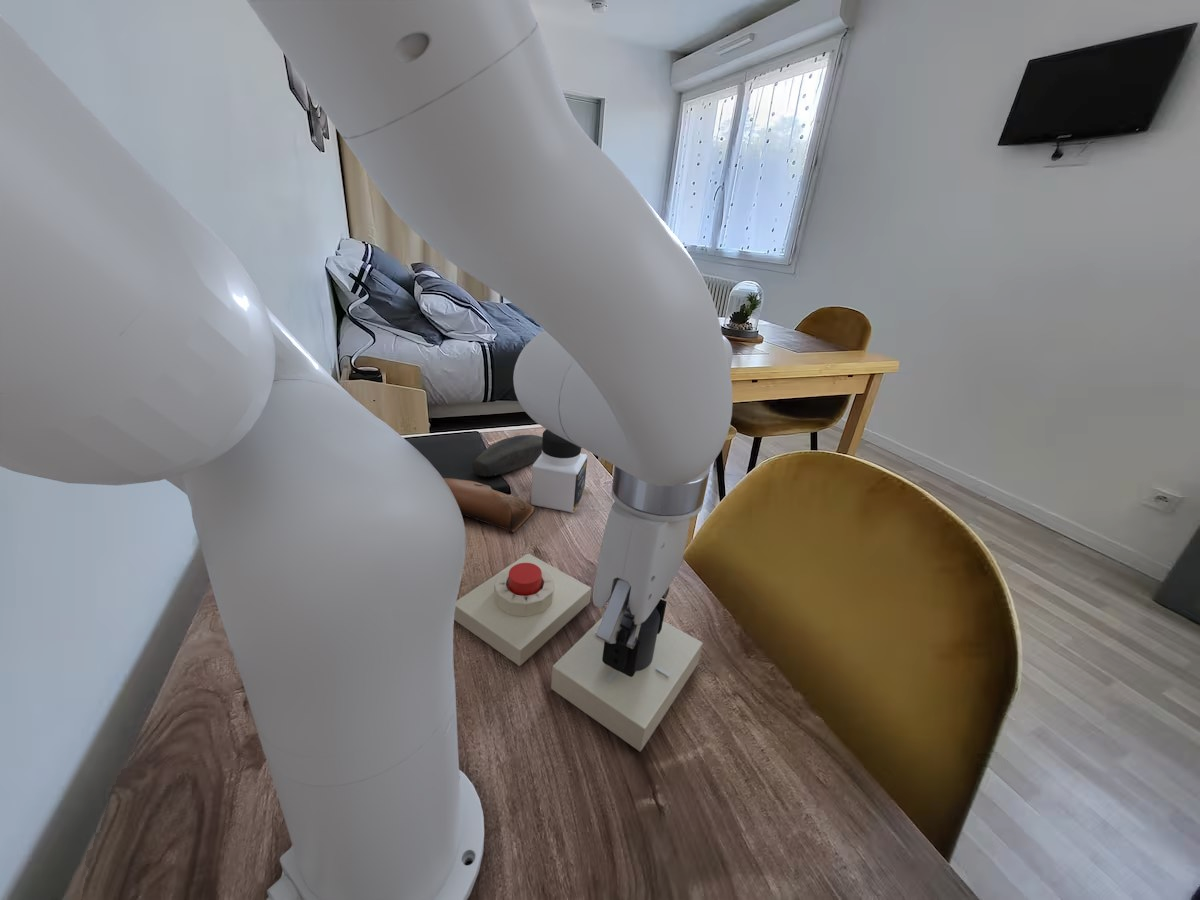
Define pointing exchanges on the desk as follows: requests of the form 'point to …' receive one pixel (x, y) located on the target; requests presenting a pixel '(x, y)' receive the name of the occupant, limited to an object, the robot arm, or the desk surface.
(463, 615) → the button block
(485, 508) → the sunglasses case
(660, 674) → the timer panel
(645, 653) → the timer knob
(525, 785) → the desk surface
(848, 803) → the desk surface
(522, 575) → the power button
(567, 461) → the medicine bottle
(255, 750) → the desk surface
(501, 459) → the decorative stone
